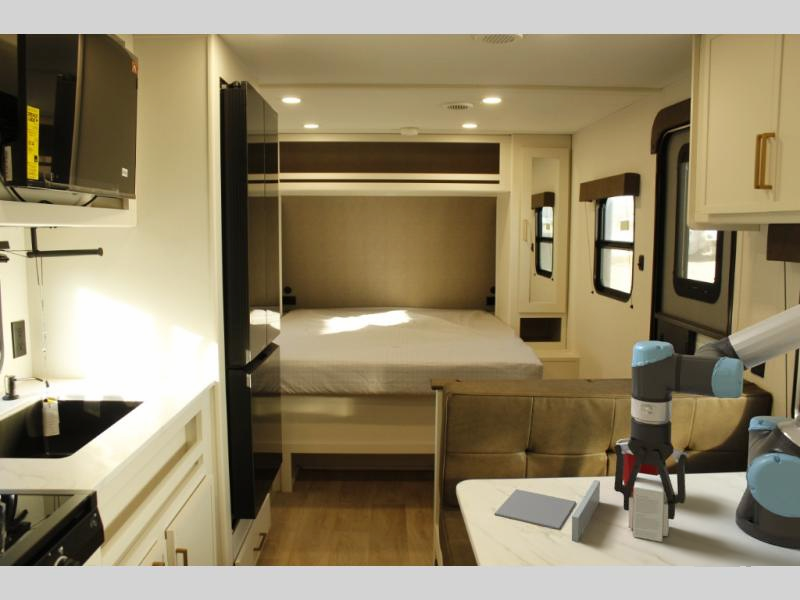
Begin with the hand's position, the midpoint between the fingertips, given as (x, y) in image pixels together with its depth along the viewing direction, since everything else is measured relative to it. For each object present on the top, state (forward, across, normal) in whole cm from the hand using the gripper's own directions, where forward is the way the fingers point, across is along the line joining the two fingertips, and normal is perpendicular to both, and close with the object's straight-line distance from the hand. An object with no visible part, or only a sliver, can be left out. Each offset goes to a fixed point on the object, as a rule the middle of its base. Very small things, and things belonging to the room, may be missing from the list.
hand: (648, 528), depth 121 cm
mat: (0, -23, -1) cm, 23 cm away
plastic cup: (+1, -4, +17) cm, 17 cm away
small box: (+1, 0, 0) cm, 1 cm away
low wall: (0, -12, -1) cm, 12 cm away
